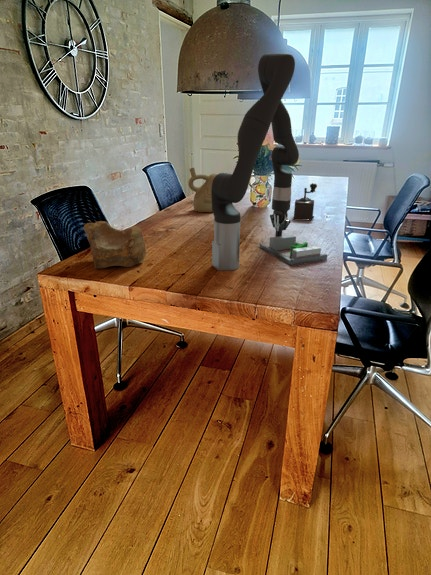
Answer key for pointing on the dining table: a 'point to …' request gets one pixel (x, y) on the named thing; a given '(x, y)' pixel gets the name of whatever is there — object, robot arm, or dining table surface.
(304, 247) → the pipe clamp
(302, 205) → the manual coffee grinder
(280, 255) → the vise
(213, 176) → the ceramic vessel
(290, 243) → the block
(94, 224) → the rough brown rock
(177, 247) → the dining table surface
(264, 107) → the robot arm
